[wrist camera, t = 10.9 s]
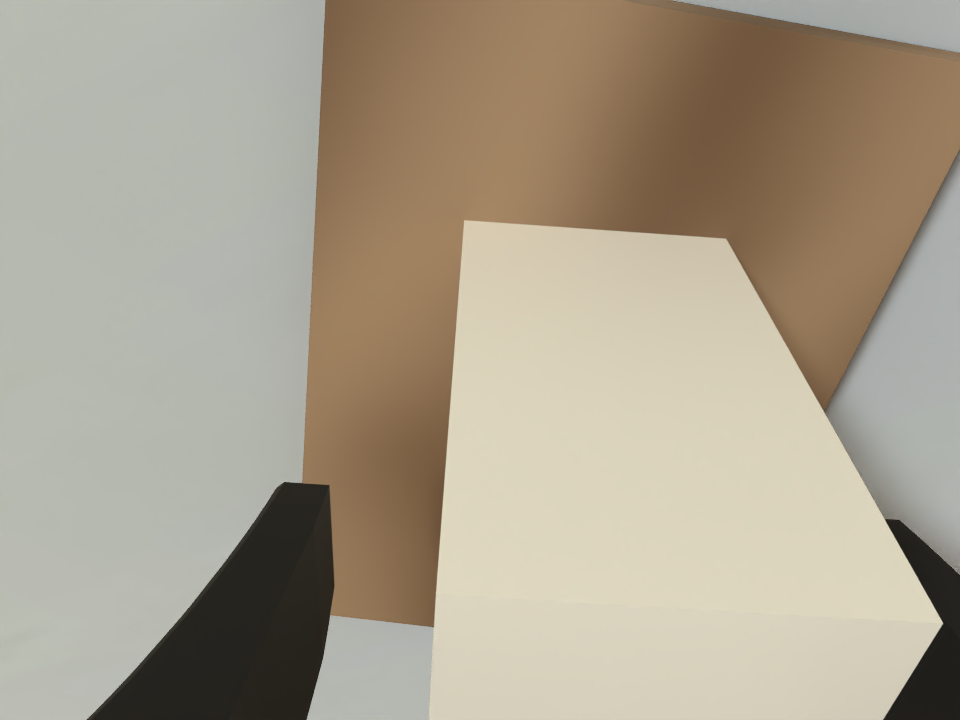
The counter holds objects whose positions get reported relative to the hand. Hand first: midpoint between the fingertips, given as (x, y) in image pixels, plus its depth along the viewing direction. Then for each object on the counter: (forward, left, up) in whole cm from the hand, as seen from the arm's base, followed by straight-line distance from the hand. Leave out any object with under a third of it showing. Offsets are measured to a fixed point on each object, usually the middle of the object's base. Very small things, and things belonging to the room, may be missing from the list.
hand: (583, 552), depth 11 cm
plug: (0, 0, -3) cm, 3 cm away
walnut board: (0, 0, -4) cm, 4 cm away
